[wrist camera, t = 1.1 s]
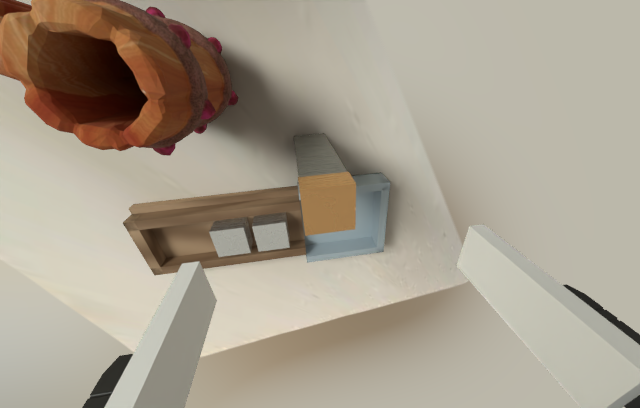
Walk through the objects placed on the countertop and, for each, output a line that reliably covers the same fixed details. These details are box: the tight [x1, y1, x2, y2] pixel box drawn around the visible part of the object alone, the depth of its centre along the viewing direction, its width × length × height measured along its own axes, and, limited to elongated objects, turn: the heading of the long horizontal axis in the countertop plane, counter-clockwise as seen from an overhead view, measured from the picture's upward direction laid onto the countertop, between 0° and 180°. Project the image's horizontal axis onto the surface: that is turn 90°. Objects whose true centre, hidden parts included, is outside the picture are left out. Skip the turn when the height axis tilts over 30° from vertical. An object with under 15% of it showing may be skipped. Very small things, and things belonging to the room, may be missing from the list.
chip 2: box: [252, 212, 290, 252], centre depth 30 cm, size 4×4×2 cm
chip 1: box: [209, 217, 253, 257], centre depth 29 cm, size 4×4×2 cm
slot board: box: [123, 186, 306, 275], centre depth 30 cm, size 10×20×3 cm, turn 94°
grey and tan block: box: [294, 133, 356, 236], centre depth 21 cm, size 4×4×14 cm
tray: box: [297, 173, 390, 262], centre depth 31 cm, size 11×11×3 cm
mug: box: [0, 0, 238, 155], centre depth 15 cm, size 15×8×15 cm, turn 66°
